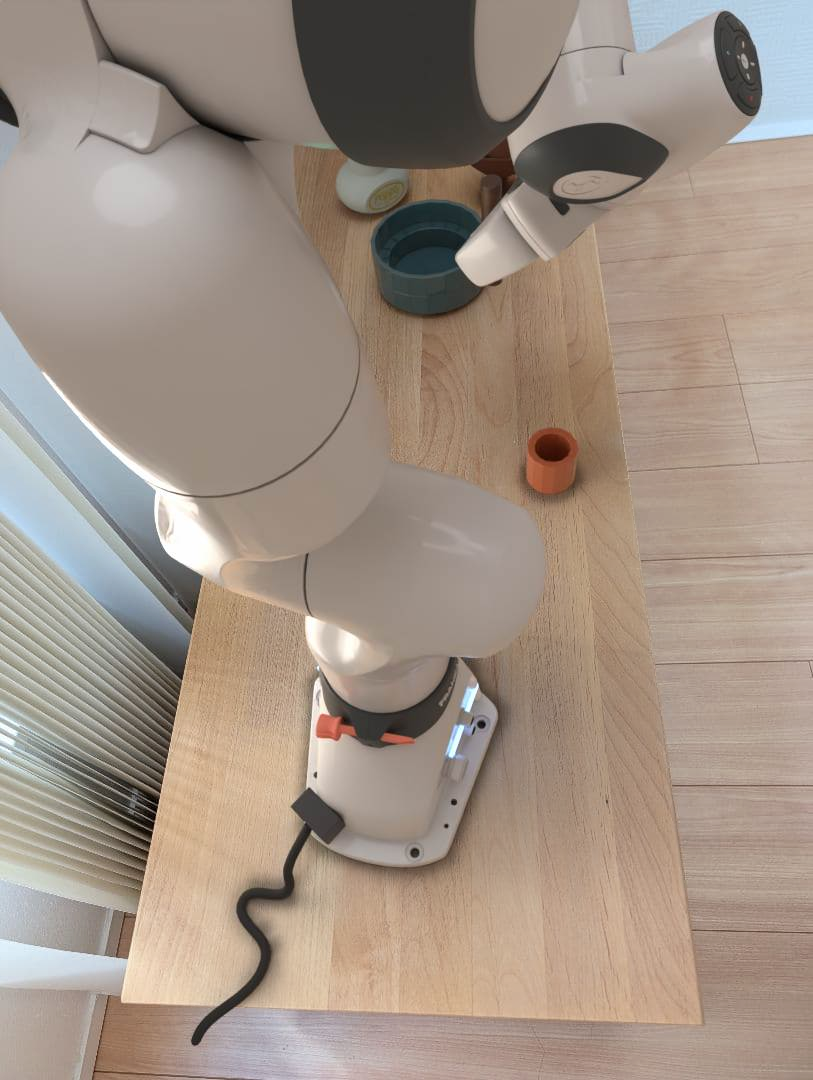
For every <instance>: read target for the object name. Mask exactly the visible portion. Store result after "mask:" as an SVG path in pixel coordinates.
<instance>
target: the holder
mask: <svg viewBox="0 0 813 1080" xmlns="http://www.w3.org/2000/svg"><path fill="white" fill-rule="evenodd" d="M578 455H579V445H578V441H577V439H576V438H575V437H574V435H573V434H572V433H571V432H569V431H568V430H565V429H563V428H561V427H553V426H552V427H551V426H550V427H546V428H541V429H539V430H537V431H536V432H535V433H533V434H532V435H531V436H530V438H529V440H528V442H527V445H526V465H525V467H526V468H525V473H526V480H527V482H528V484H529V485H530V487H532V489H533V490H535V491H537V492H538V493H541V494H543V495H557V494H560V493H563V492H565V491H567V490H568V489H569V488H570V487H571V486H572V484H573V483H574V480H575V477H576V472H577V463H578V457H579V456H578Z"/></svg>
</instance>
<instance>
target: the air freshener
mask: <svg viewBox="0 0 813 1080" xmlns="http://www.w3.org/2000/svg"><path fill="white" fill-rule="evenodd" d="M346 157H347V156H346ZM408 171H409V170H408V169H396V168H383V167H371V166H365V165H362V164H359V163H357V162H355V161H353V160H351V159H350V158H348V157H347V160H346V162H345V163H344V164H343V165H342V166H341V168H340V169H339V171H338V173H337V175H336V179H335V190H336V194H337V197H338V198H339V199H340V201H341V203H343V204H344V205H345V206H346V207H347V208H349V209H350V210H353V211H355V212H358V213H361V214H378V213H382V212H385V211H388V210H389V209H392V208H393V207H394V206H396V205H397V204H398V203H399V202H400V201H402V199H403V198H404V197H405V196H406V194H407V191H408V190H409V184H410V175H409V172H408Z"/></svg>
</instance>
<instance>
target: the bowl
mask: <svg viewBox="0 0 813 1080" xmlns="http://www.w3.org/2000/svg"><path fill="white" fill-rule="evenodd" d="M481 223H482V217H481V216H480V215H479V214H478V213H477V212H476V211H475V210H474V209H472V208H471V207H469V206H468V205H465V204H463V203H460V202H457V201H453V200H450V199H439V198H438V199H437V198H436V199H435V198H430V199H422V200H417V201H411V202H409V203H407V204H404V205H402V206H399V207H397V208H394V209H393V210H392V211H390V212H389V213H388V214H386V215H385V216H383V217H382V218H381V220H380V221H379V222H378V223H377V224H376V226H375V227H374V229H373V232H372V234H371V237H370V240H369V243H370V251H371V257H372V262H373V268H374V273H375V279H376V285H377V290H378V292H380V294H381V296H382V297H383V300H385V301H386V302H387V303H389V304H390V305H391V306H393V307H394V308H396V309H398V310H401V311H404V312H407V313H410V314H416V315H436V314H442V313H448V312H451V311H453V310H455V309H458V308H461V307H463V306H465V305H467V303H469V302H470V301H471V300H473V299H474V298H475V297H477V296H478V294H479V293H480V292H481V290H482V288H483V287H484V286H477V285H476V284H474V283H473V282H472V281H471V280H470V279H469V278H468V277H467V276H466V275H465V274H464V272H463V271H462V270H461V268H460V267H459V265H458V264H457V262H456V260H455V255H456V253H457V252H458V251H459V249H460V248H461V247H462V246H463V245H464V244H465V243H466V241H467V240H468V239H469V238H470V236H471V234H472V233H473V232H474V231H475V229H476V228H477V227H478V226H479V225H481Z"/></svg>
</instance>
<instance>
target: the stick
mask: <svg viewBox="0 0 813 1080" xmlns="http://www.w3.org/2000/svg"><path fill="white" fill-rule="evenodd" d="M479 184H480V185H479V186H480V210H481V211H480V212H481V219H482V222H483V221H484V220H485V219H486V217H487V216H488V215H489V214H490V213H491V211H492V210H493V209H494V208H495V207H496V205H497V204H498V203H499V202H500V201H501V199H502V181H501V178H500V177H499V176H497V175H485V176H483V177H482V178H481V179H480V182H479ZM503 280H504V278H502V279H500V280H498V281H495V282H493V283H491V284H488V285H487V286H488V287H497V286H499V285H500V284H502V282H503Z"/></svg>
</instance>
